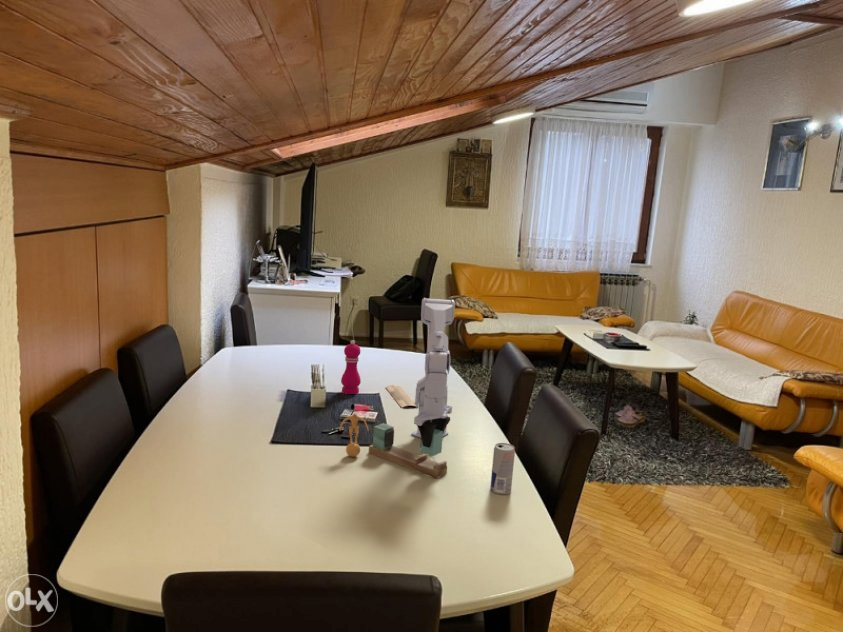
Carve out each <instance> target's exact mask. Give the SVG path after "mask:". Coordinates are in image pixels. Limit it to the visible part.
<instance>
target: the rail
mask: <svg viewBox="0 0 843 632" xmlns="http://www.w3.org/2000/svg"><path fill="white" fill-rule="evenodd" d="M372 437H373V439H372V444H370V445H369V446H368V453H369V454H372V455H374V456H377V457H379V458H382V459H385V460H386V461H390V462H392V463H394V464H397V465H401V466H403V467H405V468H408V469H409V470H413V471H415V472H418V473H421V474H424V475H426V476H428V477H431V478H432V479H433V478H434V479H438V478H440V477H441V476H444V475H446V474H447V473H448V465H447V463H448V461H446V460H442V461H441V462H437V461H435V460H433V459H430V458H428V455H427V454H425V453H422V454H421V455H419V454H416V453H413V452H410V451H409V450H408V451H407V450H405V449H402V448H400V447H398V446H394V441H395V440H394V439H395V429H394V426H392V425H389V424H387V423H380V424H377V425H375V426H373V435H372Z"/></svg>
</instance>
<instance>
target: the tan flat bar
mask: <svg viewBox="0 0 843 632" xmlns="http://www.w3.org/2000/svg"><path fill="white" fill-rule="evenodd" d="M385 389H386V390H387V392H388V393H389V394H390V395H391V396H392V398H393V400H394V401H395V402H396V403H397V404H398V405H399V407H400V408H401V409H404V408H405V407H408V406H409V407H410V406H411V407H415V408H419V405H418V406H416V405H415V401H414V400H413V399H412V398H411V396H410V395H408V393H406V391H405V390H404V389H403V388H402V386H400V385H395V384H392V385H388V386H385Z"/></svg>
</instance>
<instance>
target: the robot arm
mask: <svg viewBox="0 0 843 632" xmlns="http://www.w3.org/2000/svg"><path fill="white" fill-rule="evenodd" d="M420 311H421V312H420V317H421V319H420V321H421V323H422V324H425V325H427V328H428V335H427V340H426V341H427V342H426V344H427V345H426V346H427V347H426V353H425V356H424V357H425V360H424V373H425V375H424V376H423V377H421V378H420V379H419V380H417V382H416V387H415V395H414V396H415V398H414V399H415V400H414V403H415V405H416V406H418V413H417V415H416V416H414V419H413V424H414V425H416V427H417V428H416V429H417V430H416V431H412V432H411V434H410V435H411V436H414V437H418V438H420V439H421V438H422V444H423V446H425V447H428V448H429V447H430V446H431V442H432V436H433V432H434V430H435V429H437V430H440V431H443V437H444V436H447V435H449V432H448V431H447V427H448V424H450V421H451V417H450V416H448V414H449V415H450V414H452V412H453V406H451V405H448V384H447V383H448V375H449V373H450V370H451V354H450V350H449V337H448V335H447V334H446V333H445V330H446V327H447V326H450V325H452V323H453V321H454V319H455V313H456V301H455V300H454V299H438V298H426V297H423V298H422V300H421V310H420Z"/></svg>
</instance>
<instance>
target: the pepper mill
mask: <svg viewBox="0 0 843 632" xmlns="http://www.w3.org/2000/svg"><path fill="white" fill-rule="evenodd" d="M343 349H344V350H343V353H344V355H345V357H344V358H345V359H344V361H345V363H346V365H345V370H344V372H343V373H342V376H341V379H340V380H341V381H340V382H341V384H342V387H341V393H342V392H343V393H342V394H344V393H346V394H345V395H347V394H355V395H358V394H359V393H360V388H359V386H360V384H361V381H362V380H361V376H360V374H359V371H358V362H359V361H360V360H359V359H360V358H359V356H360V355H361V348H360V346H359V345H358V344H356V340H354V339H351V340H350V344H347V345H346V346H345V347H344V348H343ZM357 393H358V394H357Z"/></svg>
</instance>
